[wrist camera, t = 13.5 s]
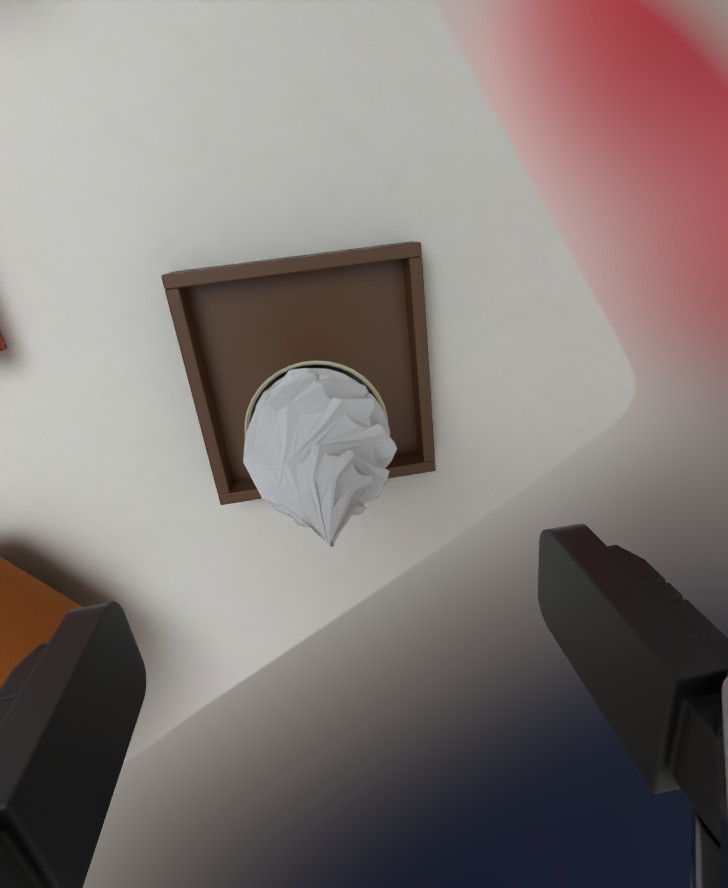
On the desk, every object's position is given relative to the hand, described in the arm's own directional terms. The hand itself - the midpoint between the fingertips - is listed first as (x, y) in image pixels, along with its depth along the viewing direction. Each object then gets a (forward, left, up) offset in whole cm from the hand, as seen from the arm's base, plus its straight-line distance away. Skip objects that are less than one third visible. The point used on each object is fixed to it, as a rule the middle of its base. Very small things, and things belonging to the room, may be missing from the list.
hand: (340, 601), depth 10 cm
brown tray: (0, 0, -17) cm, 17 cm away
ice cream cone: (0, 0, -17) cm, 17 cm away
